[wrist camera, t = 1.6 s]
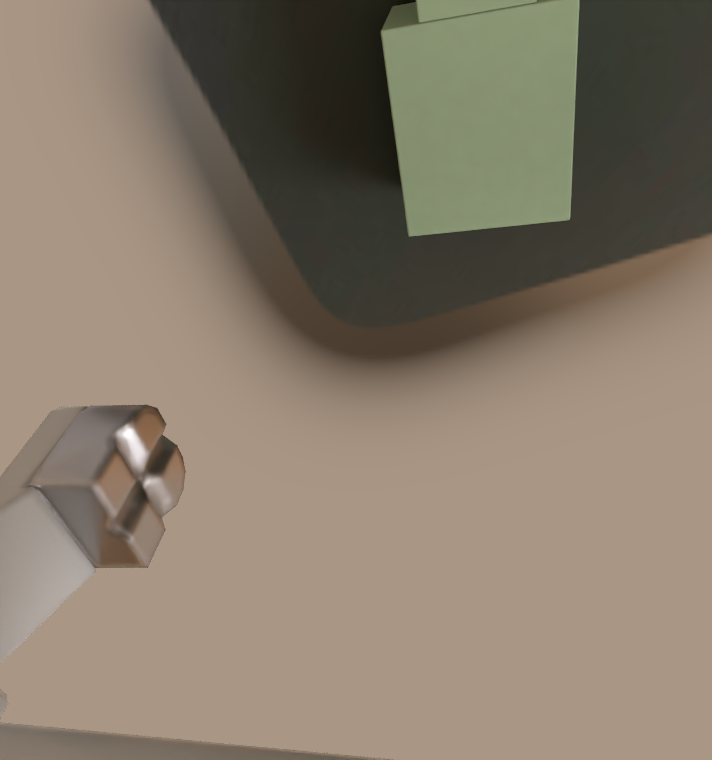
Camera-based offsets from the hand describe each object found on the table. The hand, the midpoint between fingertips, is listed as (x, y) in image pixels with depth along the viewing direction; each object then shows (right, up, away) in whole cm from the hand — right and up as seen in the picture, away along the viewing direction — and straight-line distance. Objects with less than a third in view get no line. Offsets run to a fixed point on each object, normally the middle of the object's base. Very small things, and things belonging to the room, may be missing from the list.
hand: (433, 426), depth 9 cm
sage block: (+3, +11, +11) cm, 16 cm away
